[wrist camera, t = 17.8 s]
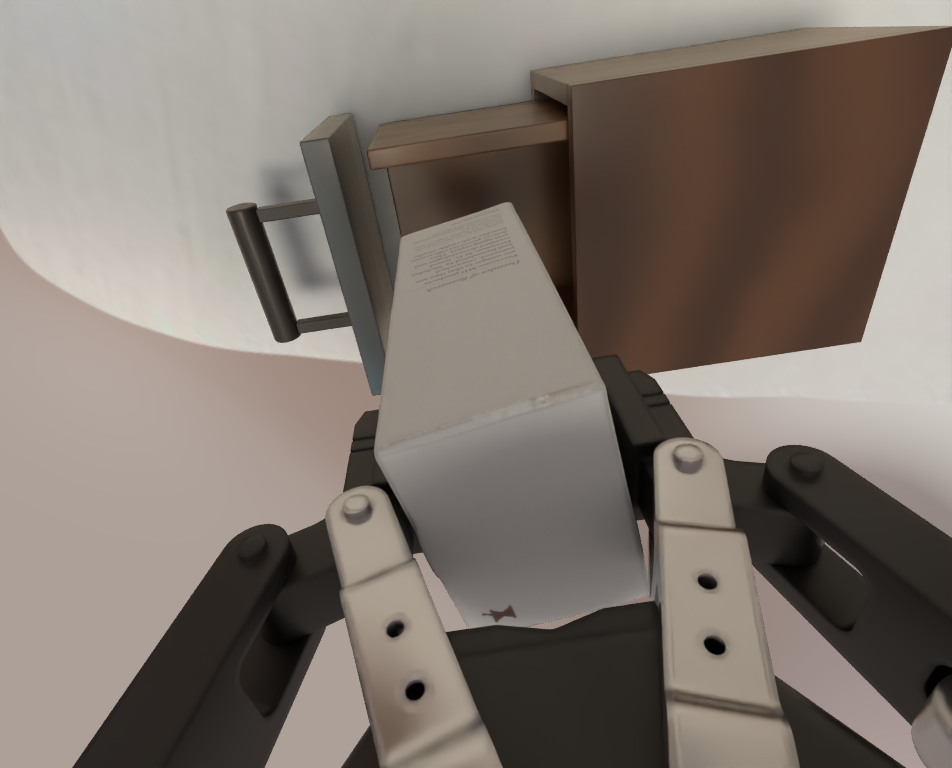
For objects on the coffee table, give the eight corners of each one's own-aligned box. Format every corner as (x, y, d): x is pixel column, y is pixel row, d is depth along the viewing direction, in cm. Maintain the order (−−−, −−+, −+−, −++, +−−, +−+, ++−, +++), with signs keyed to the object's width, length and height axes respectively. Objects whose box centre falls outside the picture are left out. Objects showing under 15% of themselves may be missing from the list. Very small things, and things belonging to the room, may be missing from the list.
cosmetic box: (551, 339, 22) (656, 603, 12) (451, 370, 22) (470, 649, 12) (512, 192, 18) (612, 384, 8) (395, 231, 19) (359, 457, 9)
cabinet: (544, 305, 36) (579, 384, 28) (530, 70, 28) (571, 85, 20) (763, 272, 36) (861, 342, 28) (806, 27, 28) (959, 25, 20)
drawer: (307, 339, 35) (279, 410, 28) (235, 130, 28) (176, 160, 21) (589, 296, 35) (627, 357, 28) (587, 76, 28) (636, 89, 21)
